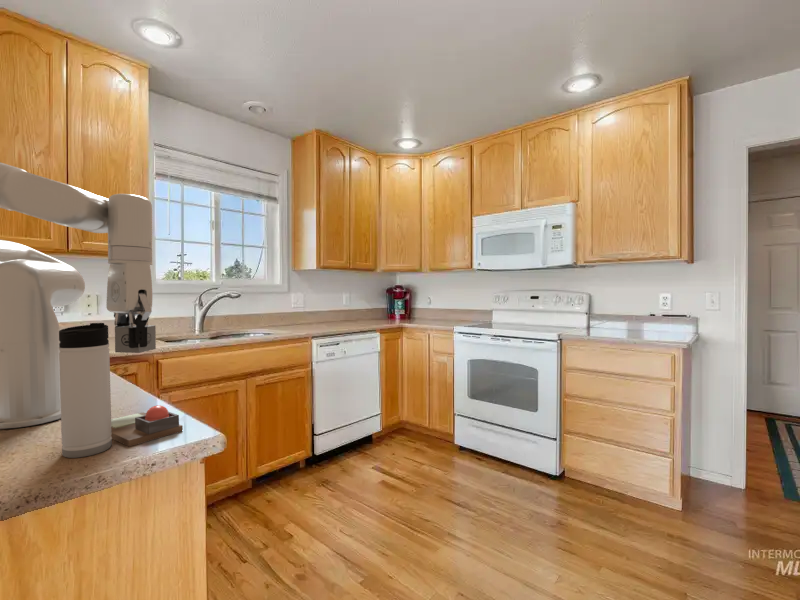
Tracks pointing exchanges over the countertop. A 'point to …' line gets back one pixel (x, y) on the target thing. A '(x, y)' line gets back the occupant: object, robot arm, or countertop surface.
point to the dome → (156, 413)
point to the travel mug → (85, 390)
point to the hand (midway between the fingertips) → (131, 345)
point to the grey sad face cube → (123, 340)
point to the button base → (143, 428)
